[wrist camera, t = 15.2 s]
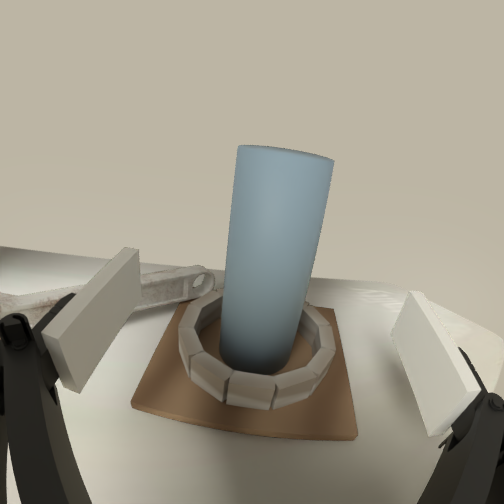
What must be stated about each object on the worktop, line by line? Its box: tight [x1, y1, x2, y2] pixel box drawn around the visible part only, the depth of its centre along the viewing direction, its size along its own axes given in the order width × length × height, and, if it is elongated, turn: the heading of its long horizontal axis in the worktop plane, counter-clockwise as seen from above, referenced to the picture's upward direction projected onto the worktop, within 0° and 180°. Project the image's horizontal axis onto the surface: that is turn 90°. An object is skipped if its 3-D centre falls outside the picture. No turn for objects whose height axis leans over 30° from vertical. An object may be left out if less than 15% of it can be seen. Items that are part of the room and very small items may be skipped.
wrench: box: [0, 265, 215, 340], centre depth 21 cm, size 8×2×30 cm
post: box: [219, 145, 334, 375], centre depth 21 cm, size 6×6×16 cm
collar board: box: [131, 287, 358, 441], centre depth 24 cm, size 16×16×3 cm
